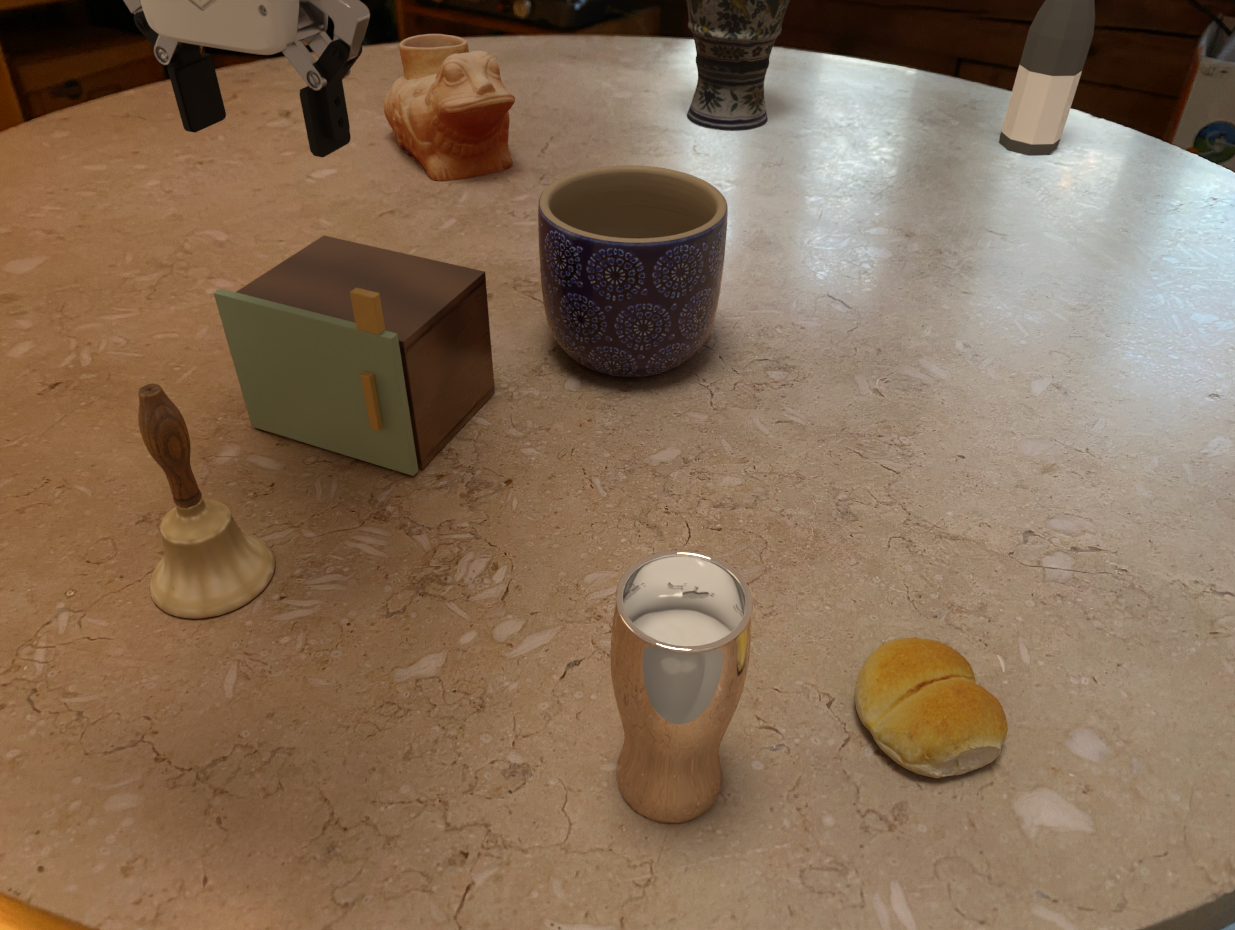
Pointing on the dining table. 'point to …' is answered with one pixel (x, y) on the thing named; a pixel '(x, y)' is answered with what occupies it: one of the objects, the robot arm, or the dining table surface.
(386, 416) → the sliding door
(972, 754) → the bread roll
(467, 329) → the cupboard
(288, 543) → the dining table surface
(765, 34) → the vase
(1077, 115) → the dining table surface
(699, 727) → the beer glass
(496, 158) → the ceramic vessel
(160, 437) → the hand bell
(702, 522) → the dining table surface
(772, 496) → the dining table surface
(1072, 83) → the wine bottle
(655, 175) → the planter
